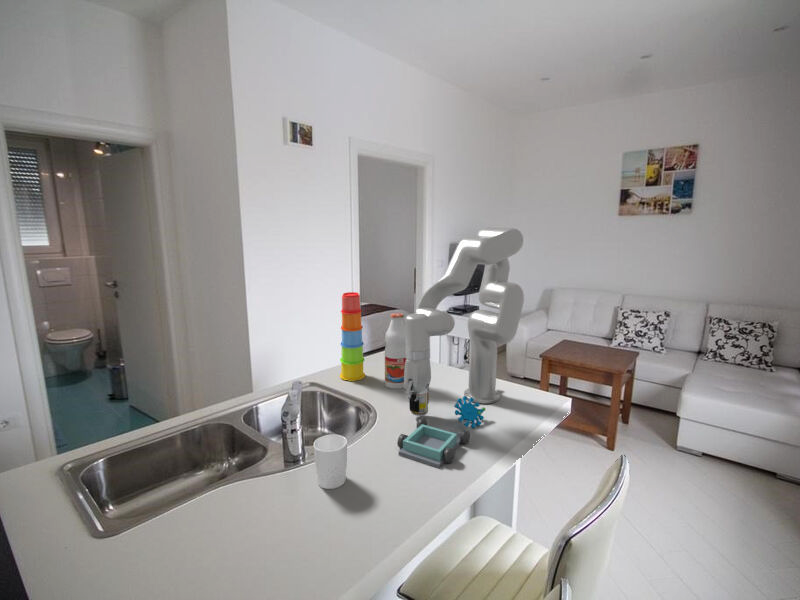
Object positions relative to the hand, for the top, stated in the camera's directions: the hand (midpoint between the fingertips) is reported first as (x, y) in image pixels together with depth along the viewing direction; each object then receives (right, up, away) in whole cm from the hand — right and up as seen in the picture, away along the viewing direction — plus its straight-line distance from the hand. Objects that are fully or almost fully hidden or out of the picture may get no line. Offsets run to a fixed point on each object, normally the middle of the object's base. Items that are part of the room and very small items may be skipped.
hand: (419, 406), depth 131 cm
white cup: (-23, -10, -32) cm, 40 cm away
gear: (+16, -5, -3) cm, 17 cm away
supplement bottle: (0, -2, 0) cm, 2 cm away
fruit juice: (-7, +1, +28) cm, 29 cm away
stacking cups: (-25, +3, +36) cm, 44 cm away
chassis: (+3, -7, -16) cm, 18 cm away
